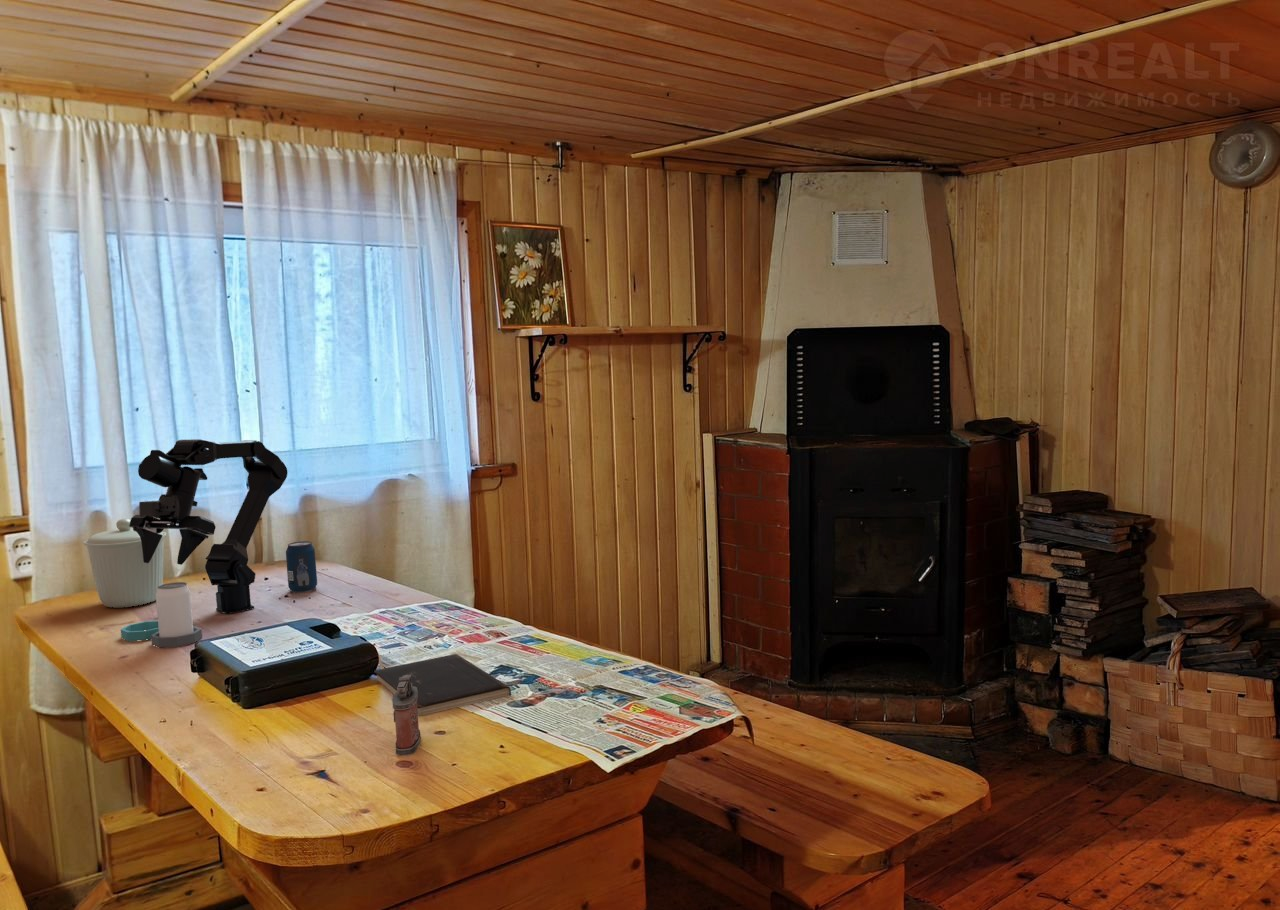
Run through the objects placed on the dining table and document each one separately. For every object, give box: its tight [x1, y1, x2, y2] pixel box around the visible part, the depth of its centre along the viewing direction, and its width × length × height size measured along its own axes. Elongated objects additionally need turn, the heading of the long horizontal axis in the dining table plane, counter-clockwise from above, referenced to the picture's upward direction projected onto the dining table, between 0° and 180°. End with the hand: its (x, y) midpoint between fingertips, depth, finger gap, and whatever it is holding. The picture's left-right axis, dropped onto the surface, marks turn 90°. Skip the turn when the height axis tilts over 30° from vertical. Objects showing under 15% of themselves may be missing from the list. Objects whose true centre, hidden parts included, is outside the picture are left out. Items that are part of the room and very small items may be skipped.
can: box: [155, 581, 194, 638], centre depth 206 cm, size 6×6×12 cm
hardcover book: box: [373, 653, 512, 717], centre depth 170 cm, size 16×23×2 cm
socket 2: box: [151, 625, 203, 649], centre depth 207 cm, size 9×9×2 cm
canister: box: [83, 518, 167, 609], centre depth 243 cm, size 18×18×21 cm
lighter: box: [391, 675, 422, 756], centre depth 145 cm, size 8×3×10 cm, turn 5°
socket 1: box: [120, 620, 159, 642], centre depth 213 cm, size 9×9×2 cm
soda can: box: [285, 540, 318, 594], centre depth 250 cm, size 7×7×12 cm
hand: (162, 563), depth 212 cm, fingers open, 9 cm apart
